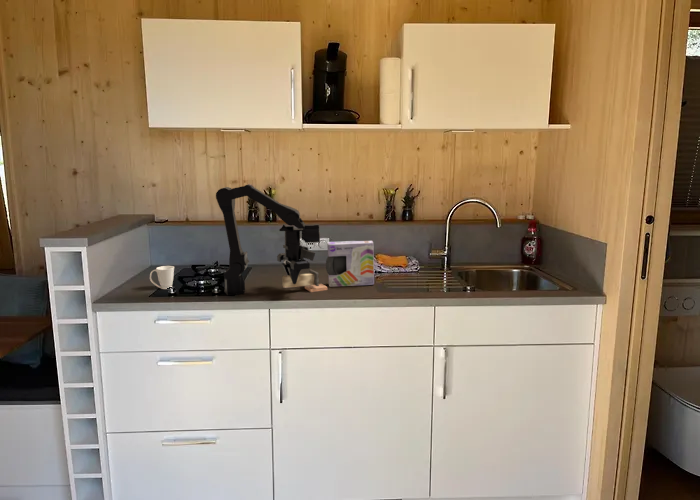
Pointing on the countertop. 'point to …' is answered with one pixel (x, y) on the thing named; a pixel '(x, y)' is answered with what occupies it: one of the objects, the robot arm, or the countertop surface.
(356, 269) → the cake pan box
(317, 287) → the tile
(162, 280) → the cup
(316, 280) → the beige block with plate
